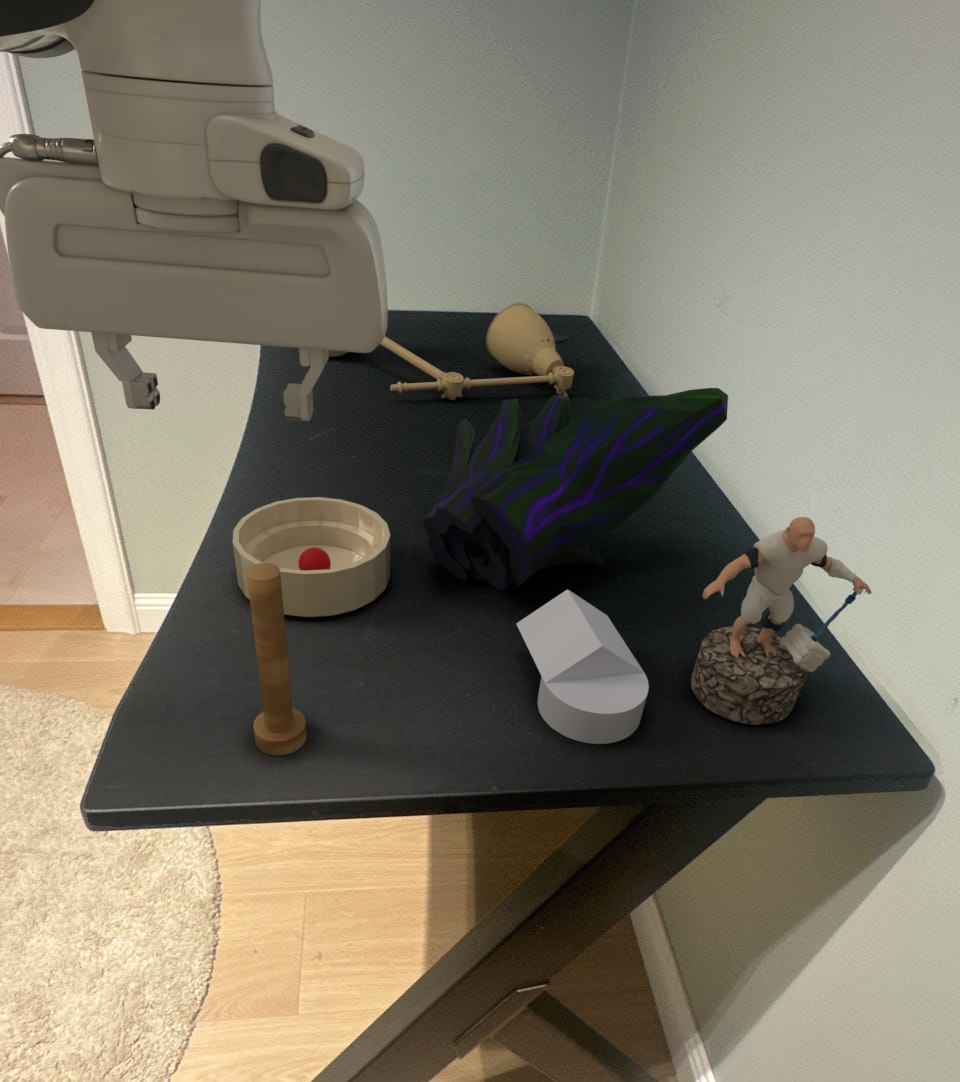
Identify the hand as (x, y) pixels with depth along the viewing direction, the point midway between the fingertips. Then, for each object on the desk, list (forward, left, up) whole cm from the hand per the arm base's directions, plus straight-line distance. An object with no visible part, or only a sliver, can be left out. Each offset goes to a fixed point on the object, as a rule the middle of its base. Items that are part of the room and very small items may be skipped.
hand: (222, 411), depth 48 cm
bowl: (+5, +20, -26) cm, 33 cm away
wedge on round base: (+27, -1, -26) cm, 38 cm away
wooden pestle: (+1, -3, -26) cm, 26 cm away
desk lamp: (+31, +83, -26) cm, 93 cm away
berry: (+5, +20, -24) cm, 31 cm away
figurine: (+42, -3, -26) cm, 50 cm away
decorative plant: (+30, +23, -26) cm, 46 cm away
